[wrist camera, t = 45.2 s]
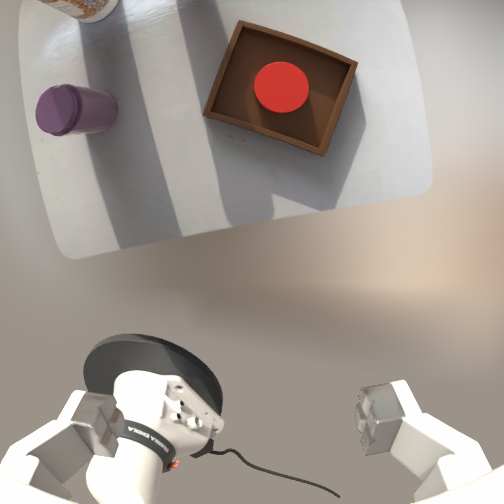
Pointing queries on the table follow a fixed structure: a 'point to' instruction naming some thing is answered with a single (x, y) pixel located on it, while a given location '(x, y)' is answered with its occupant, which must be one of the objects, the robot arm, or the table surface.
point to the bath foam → (84, 8)
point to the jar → (75, 110)
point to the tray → (290, 51)
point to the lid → (281, 87)
